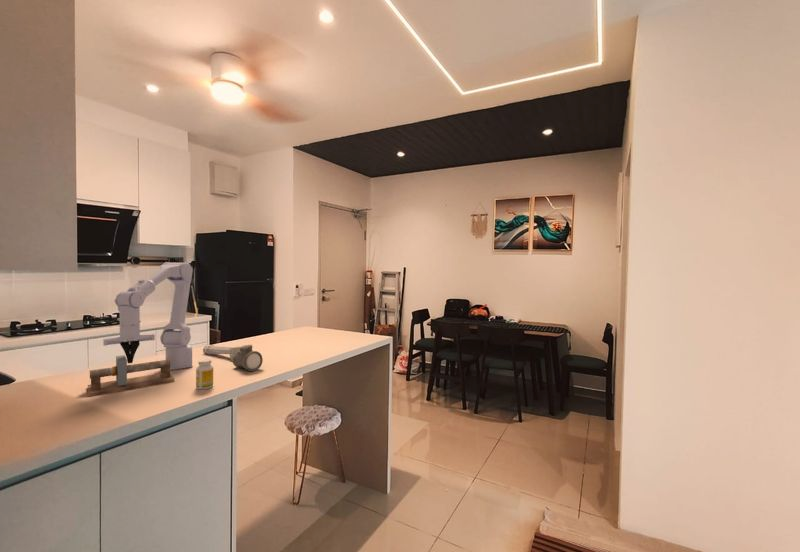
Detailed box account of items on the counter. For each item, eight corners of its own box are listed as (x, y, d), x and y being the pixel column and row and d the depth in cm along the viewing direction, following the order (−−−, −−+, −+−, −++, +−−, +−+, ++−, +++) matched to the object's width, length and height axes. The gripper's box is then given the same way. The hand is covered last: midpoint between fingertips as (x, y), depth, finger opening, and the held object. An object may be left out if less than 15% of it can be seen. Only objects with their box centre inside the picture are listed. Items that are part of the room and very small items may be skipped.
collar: (124, 378, 130) (124, 355, 130) (126, 384, 124) (126, 359, 124) (116, 379, 129) (116, 356, 128) (118, 386, 122) (118, 361, 122)
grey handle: (211, 344, 177) (245, 343, 165) (212, 358, 177) (246, 358, 164) (201, 346, 172) (234, 345, 160) (202, 360, 172) (235, 361, 160)
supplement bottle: (192, 389, 124) (192, 362, 124) (201, 384, 130) (201, 358, 129) (208, 389, 124) (208, 362, 124) (216, 384, 130) (216, 358, 129)
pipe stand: (168, 374, 140) (168, 355, 140) (174, 381, 132) (174, 361, 132) (87, 387, 124) (87, 366, 124) (88, 396, 116) (88, 374, 116)
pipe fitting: (264, 367, 150) (261, 343, 150) (247, 374, 143) (243, 348, 143) (248, 366, 157) (245, 343, 156) (231, 372, 150) (227, 348, 150)
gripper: (104, 328, 120) (104, 368, 120) (156, 324, 129) (156, 361, 130) (102, 325, 125) (103, 364, 125) (153, 321, 134) (153, 357, 135)
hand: (130, 362), depth 128 cm, fingers closed
